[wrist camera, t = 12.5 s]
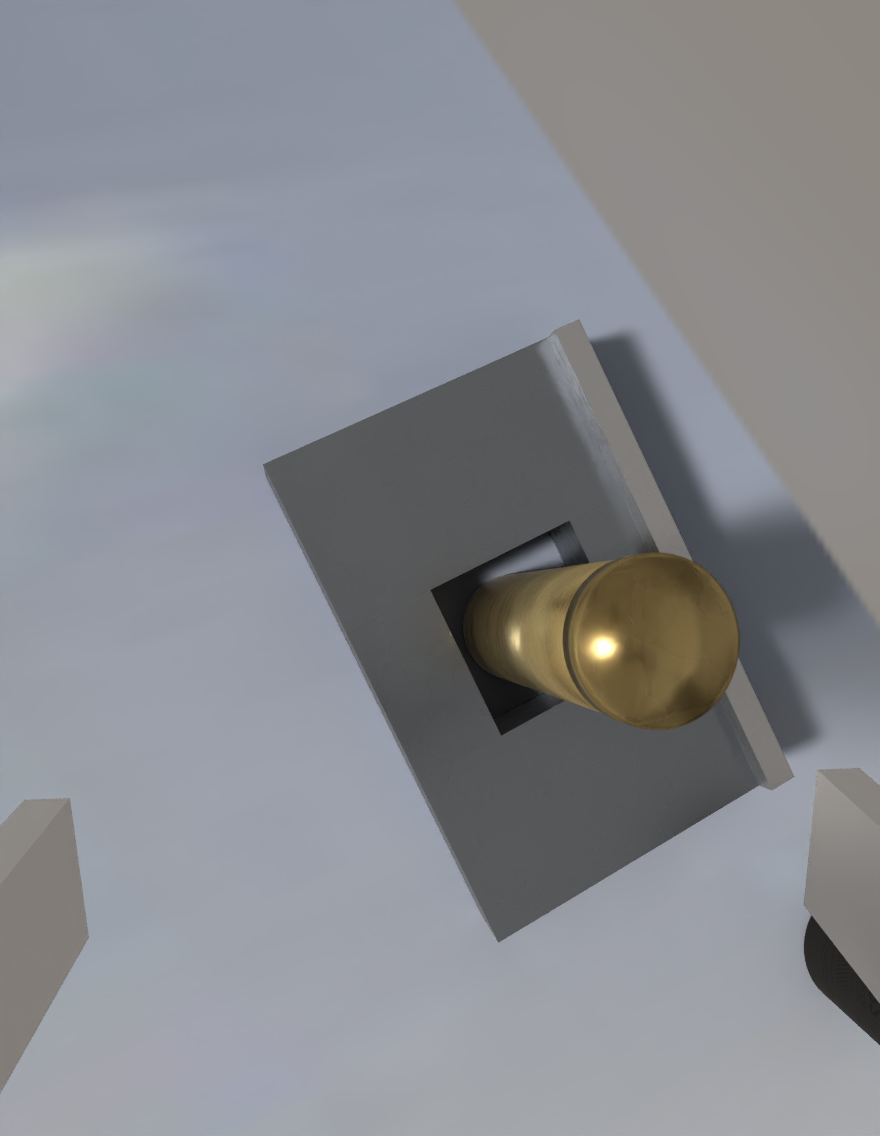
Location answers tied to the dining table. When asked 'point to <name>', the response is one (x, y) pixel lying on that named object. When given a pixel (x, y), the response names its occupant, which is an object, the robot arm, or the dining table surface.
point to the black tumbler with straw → (840, 980)
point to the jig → (433, 660)
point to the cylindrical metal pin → (611, 636)
